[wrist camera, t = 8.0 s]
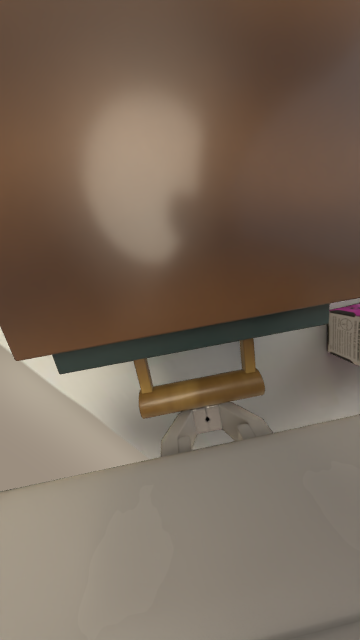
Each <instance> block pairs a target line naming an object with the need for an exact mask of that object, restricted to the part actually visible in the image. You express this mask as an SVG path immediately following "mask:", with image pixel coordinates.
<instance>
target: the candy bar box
mask: <svg viewBox="0 0 360 640" xmlns="http://www.w3.org/2000/svg"><path fill="white" fill-rule="evenodd" d="M327 326H328V353H331V354H333V355H335V356H338V357H340V358H342V359H344V360H347V361H349V362H351V363H353V364H356V365H358V366H360V303H359V304H354V305H350V306H346V307H341V308H337V309H332V310H329V324H327Z"/></svg>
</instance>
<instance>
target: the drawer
mask: <svg viewBox="0 0 360 640" xmlns="http://www.w3.org/2000/svg"><path fill="white" fill-rule="evenodd" d="M329 307H330V303H329V304H323V305H318V306H312V307H307V308H302V309H296V310H291V311H285V312H280V313H275V314H269V315H264V316H258V317H253V318H247V319H242V320H237V321H231V322H226V323H220V324H215V325H210V326H204V327H199V328H193V329H188V330H183V331H177V332H172V333H166V334H161V335H155V336H150V337H145V338H139V339H134V340H128V341H123V342H118V343H112V344H107V345H101V346H96V347H90V348H85V349H80V350H74V351H69V352H63V353H58V354H53V355H52V356H53V358H54V361H55V364H56V366H57V369H58V372H59V374H65V373H70V372H75V371H81V370H86V369H91V368H97V367H102V366H107V365H113V364H118V363H123V362H129V361H134V364H135V368H136V372H137V376H138V380H139V384H140V388H141V390H140V392H139V409H140V414H141V416H142V418H143V419H145V418H150V417H155V416H160V415H165V414H170V413H175V412H180V411H185V410H190V409H195V408H200V407H205V406H210V405H215V404H220V403H225V402H230V401H235V400H240V399H245V398H250V397H255V396H260V395H263V394H264V393H265V386H264V382H263V379H262V376H261V374H260V373H259V371H258V370H257V369H256V367H255V354H254V340H253V338H256V337H261V336H267V335H272V334H277V333H283V332H288V331H293V330H298V329H304V328H309V327H314V326H320V325H325V324H329ZM235 341H240V352H241V363H242V369H241V370H236V371H231V372H226V373H220V374H215V375H210V376H205V377H200V378H195V379H189V380H184V381H179V382H174V383H169V384H164V385H158V386H153V383H152V379H151V375H150V370H149V366H148V362H147V358H150V357H155V356H160V355H166V354H171V353H176V352H182V351H187V350H192V349H198V348H203V347H208V346H214V345H219V344H224V343H229V342H235Z"/></svg>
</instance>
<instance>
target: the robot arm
mask: <svg viewBox="0 0 360 640" xmlns="http://www.w3.org/2000/svg"><path fill="white" fill-rule="evenodd" d="M221 429H223V431H225V432H226V433H227V434H228V435H229V436H230V437H231V438H232V439H234V440H235V441H234V442H229V443H224V444H220V445H215V446H211V447H206V448H201V449H197V450H192V448H193V445H194V442H195V439H196V437H197V434H201V433H205V432H209V431H215V430H221ZM0 640H360V414H359V415H354V416H350V417H345V418H340V419H336V420H331V421H326V422H322V423H317V424H312V425H308V426H303V427H299V428H294V429H289V430H285V431H280V432H275V433H273V432H272V431H271V429H270V428H269V426H268V425H267V424H266V422H265V421H264V419H262V418H261V417H259V416H257V415H255V414H253V413H251V412H249V411H247V410H246V409H244V408H242V407H240V406H238V405H236V404H234V403H233V402H225V403H220V404H215V405H210V406H205V407H200V408H195V409H190V410H185V411H181V413H179V414H178V416H177V417H176V419H175V420H174V422H173V423H172V425H171V426H170V428H169V429H168V431H167V433H166V434H165V436H164V437H163V439H162V440H161V457H159V458H155V459H150V460H146V461H141V462H136V463H132V464H127V465H122V466H118V467H113V468H109V469H104V470H99V471H94V472H90V473H85V474H81V475H76V476H71V477H67V478H62V479H57V480H53V481H48V482H44V483H39V484H34V485H29V486H25V487H20V488H16V489H10V490H6V491H1V492H0Z"/></svg>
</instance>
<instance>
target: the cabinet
mask: <svg viewBox="0 0 360 640" xmlns="http://www.w3.org/2000/svg"><path fill="white" fill-rule="evenodd" d="M356 298H360V0H0V327H1V329H2V331H3V333H4V336H5V338H6V340H7V343H8V345H9V347H10V350H11V352H12V354H13V356H14V359H15V360H16V361H20V360H25V359H31V358H36V357H42V356H47V355H53V354H58V353H63V352H69V351H74V350H80V349H85V348H90V347H96V346H101V345H107V344H112V343H118V342H123V341H128V340H134V339H139V338H145V337H150V336H155V335H161V334H166V333H172V332H177V331H183V330H188V329H193V328H199V327H204V326H210V325H215V324H220V323H226V322H231V321H237V320H242V319H247V318H253V317H258V316H264V315H269V314H275V313H280V312H285V311H291V310H296V309H302V308H307V307H312V306H318V305H323V304H329V303H334V302H340V301H345V300H350V299H356Z"/></svg>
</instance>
